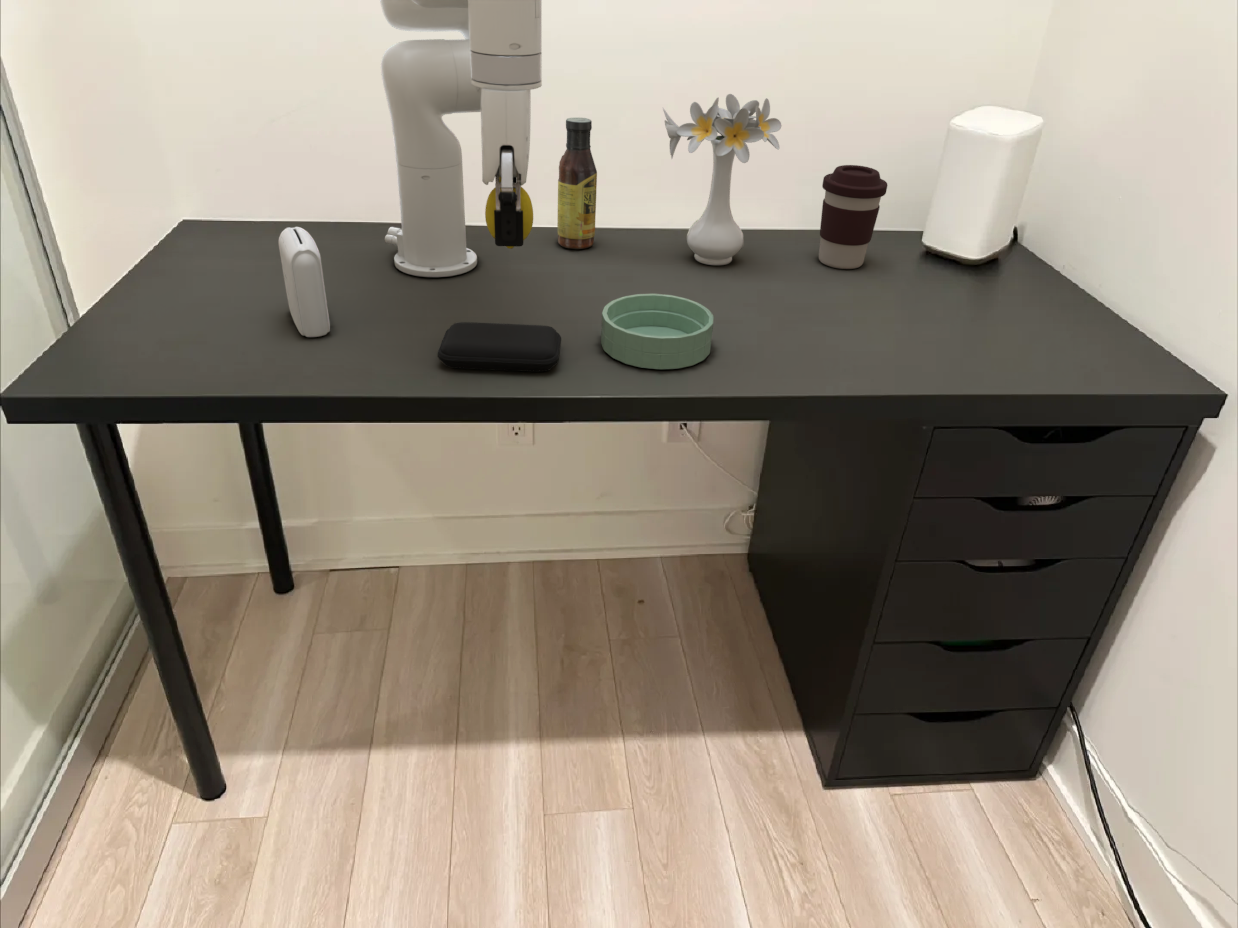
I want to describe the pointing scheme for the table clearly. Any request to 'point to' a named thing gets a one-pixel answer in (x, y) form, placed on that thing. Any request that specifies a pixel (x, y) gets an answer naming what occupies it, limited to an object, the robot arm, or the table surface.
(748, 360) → the table surface
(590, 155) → the sauce bottle
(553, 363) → the carrying case
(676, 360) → the fruit bowl
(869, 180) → the coffee cup
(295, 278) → the photo printer
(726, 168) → the flower vase
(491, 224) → the lemon
